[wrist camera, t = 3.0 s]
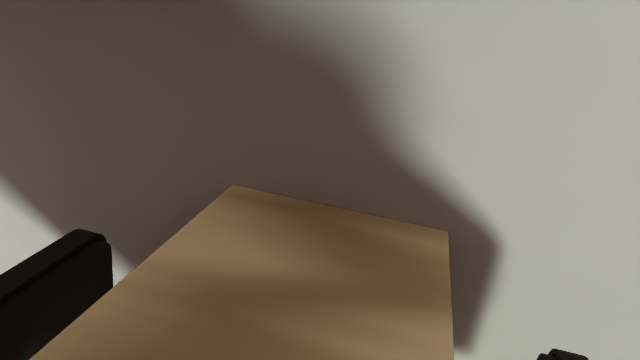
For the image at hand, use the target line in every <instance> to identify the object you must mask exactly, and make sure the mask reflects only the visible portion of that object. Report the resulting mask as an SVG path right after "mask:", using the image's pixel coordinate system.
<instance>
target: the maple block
mask: <svg viewBox="0 0 640 360" xmlns="http://www.w3.org/2000/svg"><path fill="white" fill-rule="evenodd" d="M29 360H454V344H453V323H452V302H451V282H450V261H449V240H448V231H443V230H438V229H434V228H429V227H425V226H420V225H416V224H411V223H406V222H402V221H397V220H393V219H388V218H384V217H379V216H375V215H370V214H365V213H361V212H356V211H352V210H347V209H343V208H338V207H334V206H329V205H324V204H320V203H315V202H311V201H306V200H302V199H297V198H293V197H288V196H283V195H279V194H274V193H270V192H265V191H261V190H256V189H252V188H247V187H242V186H238V185H231V186H230V187H229V188H228V189H227V190H226V191H224V192H223V193H222V194H221V195H220V196H219V197H217V198H216V199H215V200H214V201H213V202H212V203H211V204H209V205H208V206H207V207H206V208H205V209H204V210H202V211H201V212H200V213H199V214H198V215H197V216H195V217H194V218H193V219H192V220H191V221H190V222H188V223H187V224H186V225H185V226H184V227H183V228H181V229H180V230H179V231H178V232H177V233H176V234H175V235H173V236H172V237H171V238H170V239H169V240H168V241H166V242H165V243H164V244H163V245H162V246H161V247H159V248H158V249H157V250H156V251H155V252H154V253H152V254H151V255H150V256H149V257H148V258H147V259H145V260H144V261H143V262H142V263H141V264H140V265H139V266H137V267H136V268H135V269H134V270H133V271H132V272H130V273H129V274H128V275H127V276H126V277H125V278H123V279H122V280H121V281H120V282H119V283H118V284H116V285H115V286H114V287H113V288H112V289H111V290H109V291H108V292H107V293H106V294H105V295H104V296H103V297H101V298H100V299H99V300H98V301H97V302H96V303H94V304H93V305H92V306H91V307H90V308H89V309H87V310H86V311H85V312H84V313H83V314H82V315H80V316H79V317H78V318H77V319H76V320H75V321H73V322H72V323H71V324H70V325H69V326H68V327H66V328H65V329H64V330H63V331H62V332H61V333H60V334H58V335H57V336H56V337H55V338H54V339H53V340H51V341H50V342H49V343H48V344H47V345H46V346H44V347H43V348H42V349H41V350H40V351H39V352H37V353H36V354H35V355H34V356H33V357H32V358H30V359H29Z"/></svg>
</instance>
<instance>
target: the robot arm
mask: <svg viewBox="0 0 640 360" xmlns="http://www.w3.org/2000/svg"><path fill="white" fill-rule="evenodd" d="M112 288H113V274H112V253H111V246H110V244H109V243H107V242H106V238H105V237H104V236H103V235H102V234H98V233H94V232H90V231H86V230H82V229H76V230H73V231H72V232H70V233H68V234H67V235H65V236H63V237H62V238H60V239H59V240H57V241H55V242H54V243H52V244H50V245H49V246H47V247H45V248H44V249H42V250H41V251H39V252H37V253H36V254H34V255H32V256H31V257H29V258H27V259H26V260H24V261H23V262H21V263H19V264H18V265H16V266H14V267H13V268H11V269H9V270H8V271H6V272H5V273H3V274H1V275H0V360H29V359H30V358H32V357H33V356H34V355H35V354H36V353H37V352H39V351H40V350H41V349H42V348H43V347H44V346H46V345H47V344H48V343H49V342H50V341H51V340H53V339H54V338H55V337H56V336H57V335H58V334H60V333H61V332H62V331H63V330H64V329H65V328H66V327H68V326H69V325H70V324H71V323H72V322H73V321H75V320H76V319H77V318H78V317H79V316H80V315H82V314H83V313H84V312H85V311H86V310H87V309H89V308H90V307H91V306H92V305H93V304H94V303H96V302H97V301H98V300H99V299H100V298H101V297H103V296H104V295H105V294H106V293H107V292H108V291H109V290H111V289H112ZM537 360H588V358H587V357H585V356H582V355H578V354H574V353H570V352H566V351H562V350H558V349H552V350H551V351H550V352H549V354H548V355H547V354H543V353H542V354H540V355H539V356H538V358H537Z"/></svg>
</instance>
